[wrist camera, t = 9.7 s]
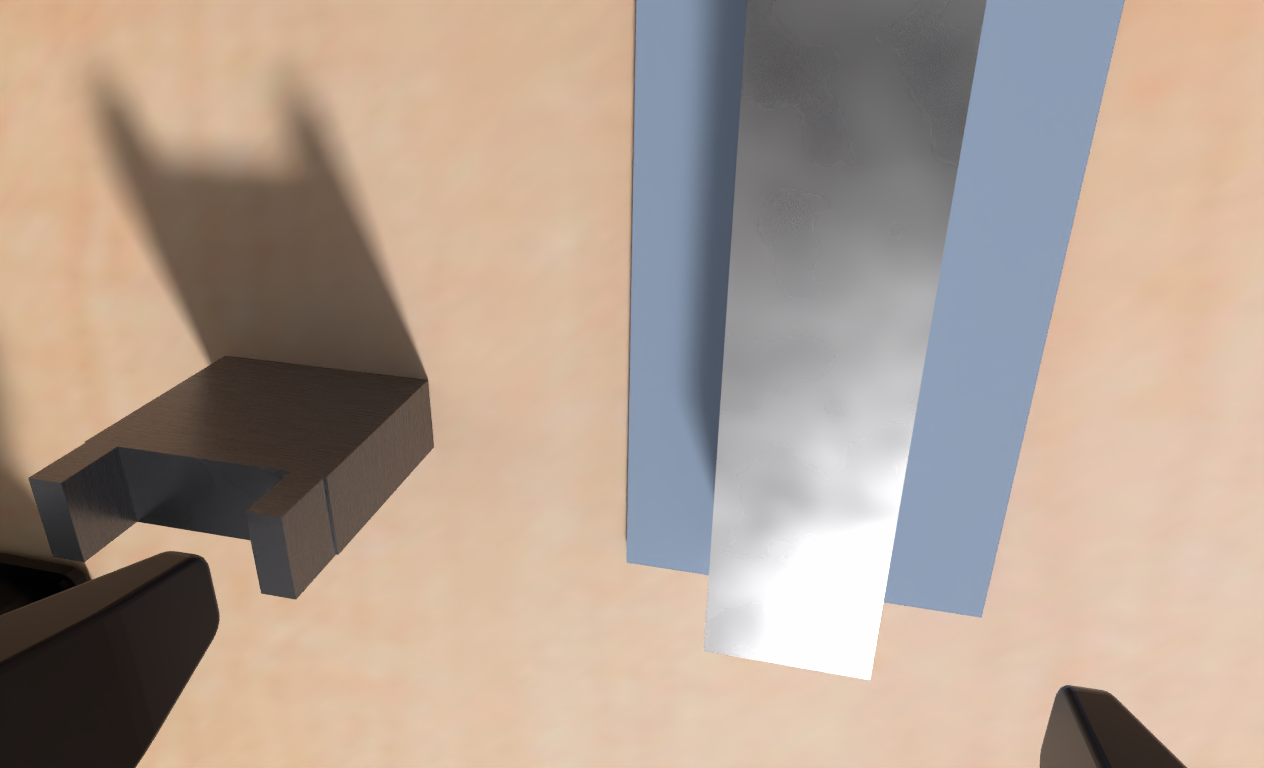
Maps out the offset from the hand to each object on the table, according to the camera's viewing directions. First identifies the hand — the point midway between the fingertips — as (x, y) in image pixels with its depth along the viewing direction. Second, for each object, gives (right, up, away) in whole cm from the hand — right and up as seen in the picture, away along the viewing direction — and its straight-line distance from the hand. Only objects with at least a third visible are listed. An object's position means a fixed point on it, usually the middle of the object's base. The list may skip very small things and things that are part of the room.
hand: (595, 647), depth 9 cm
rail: (+5, +7, +9) cm, 13 cm away
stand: (-8, +2, +15) cm, 17 cm away
